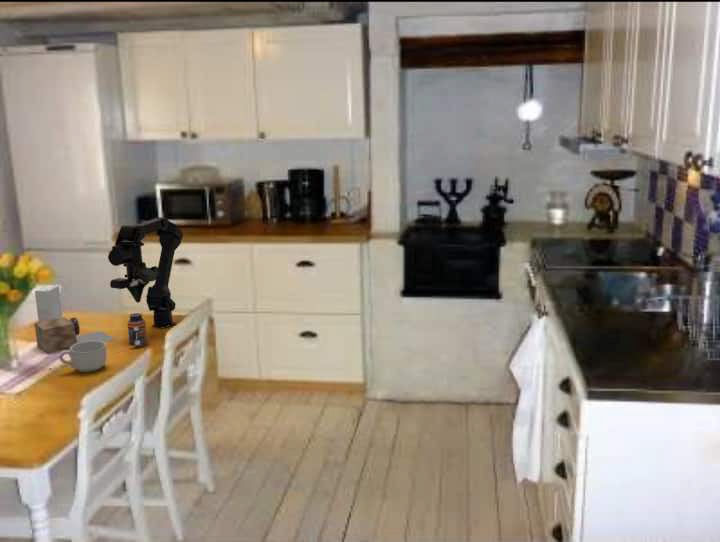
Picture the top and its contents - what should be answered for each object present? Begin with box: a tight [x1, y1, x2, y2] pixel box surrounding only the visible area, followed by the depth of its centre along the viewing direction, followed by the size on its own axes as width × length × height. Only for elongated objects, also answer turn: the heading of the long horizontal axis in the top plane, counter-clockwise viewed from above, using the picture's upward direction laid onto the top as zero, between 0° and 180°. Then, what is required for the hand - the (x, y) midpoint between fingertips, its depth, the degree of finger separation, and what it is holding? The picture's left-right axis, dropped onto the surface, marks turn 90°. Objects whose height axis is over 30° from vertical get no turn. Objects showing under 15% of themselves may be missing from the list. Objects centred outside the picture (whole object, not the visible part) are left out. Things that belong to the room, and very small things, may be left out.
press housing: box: [34, 316, 77, 355], centre depth 236 cm, size 10×11×8 cm
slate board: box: [35, 330, 117, 356], centre depth 241 cm, size 23×15×1 cm, turn 131°
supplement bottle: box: [127, 312, 148, 349], centre depth 237 cm, size 6×6×11 cm
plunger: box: [69, 317, 80, 336], centre depth 237 cm, size 11×6×6 cm, turn 131°
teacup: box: [58, 340, 107, 373], centre depth 215 cm, size 14×11×8 cm
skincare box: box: [34, 284, 64, 322], centre depth 267 cm, size 8×6×15 cm
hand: (138, 302), depth 246 cm, fingers closed
